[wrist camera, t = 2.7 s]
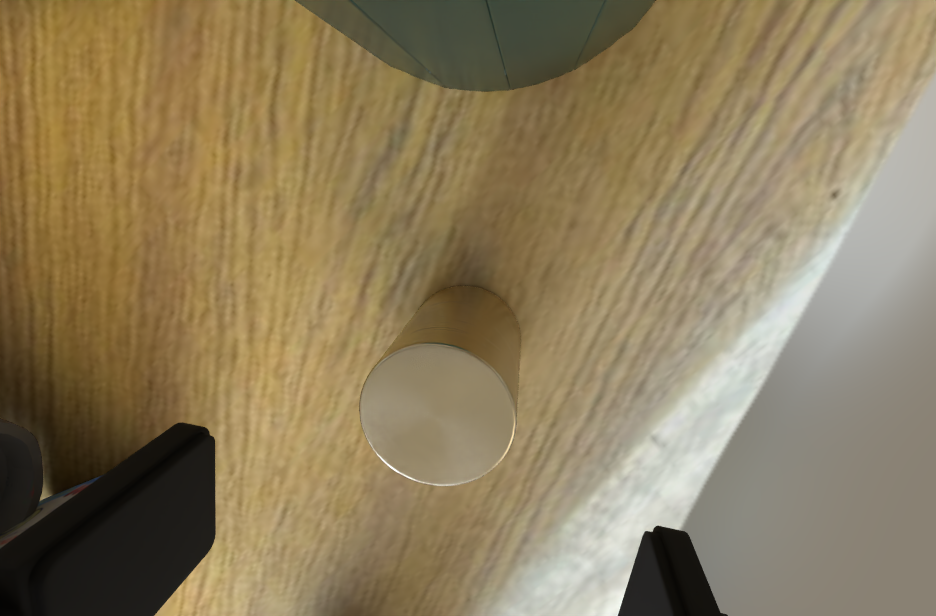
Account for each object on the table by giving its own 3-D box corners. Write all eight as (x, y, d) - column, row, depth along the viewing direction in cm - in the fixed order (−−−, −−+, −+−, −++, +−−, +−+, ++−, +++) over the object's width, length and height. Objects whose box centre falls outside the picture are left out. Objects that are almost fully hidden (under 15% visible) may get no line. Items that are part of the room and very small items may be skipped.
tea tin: (390, 343, 22) (328, 422, 15) (456, 261, 20) (420, 309, 14) (474, 408, 22) (450, 514, 16) (544, 333, 21) (551, 413, 14)
